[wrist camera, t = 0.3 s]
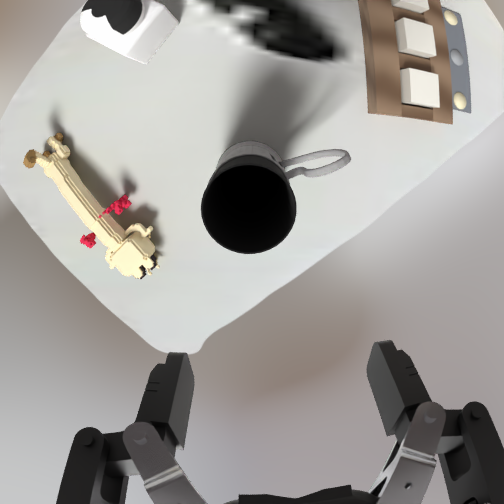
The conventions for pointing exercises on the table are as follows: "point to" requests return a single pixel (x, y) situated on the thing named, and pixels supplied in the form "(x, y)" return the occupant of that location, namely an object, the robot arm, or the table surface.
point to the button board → (402, 60)
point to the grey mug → (256, 196)
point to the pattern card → (458, 61)
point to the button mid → (415, 38)
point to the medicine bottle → (128, 26)
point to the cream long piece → (98, 214)
